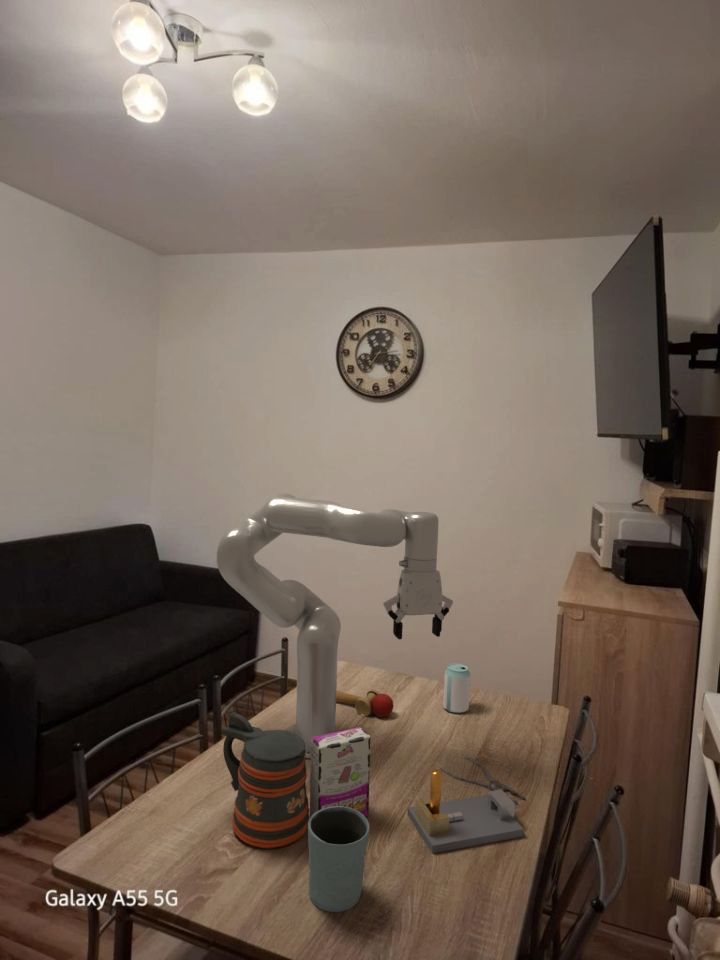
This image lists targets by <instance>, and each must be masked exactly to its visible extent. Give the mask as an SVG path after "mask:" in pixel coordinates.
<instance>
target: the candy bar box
mask: <svg viewBox="0 0 720 960" xmlns="http://www.w3.org/2000/svg"><path fill="white" fill-rule="evenodd" d="M370 765H371V736H370V735H369V734H368V733H367V731H365V730H364V729H363V727H360V726H359V727H354V728H350V729H349V728H348V729H344V730H340V731H335V733H330V734H326V735H321V736H316V737H312V738H311V759H310V766H309V767H310V768H309V769H310V770H309V771H310V773H309V774H310V777H309V819H310V818H311V816H312V815H313V814H314V813H315V812H317V811H319V810H321V809H323V808H326V807H332V806H343V807H348V808H352V809H354V810H357V811H358V812H360V813H361V814H363V815H364V816H365V817H366V816H369V814H370V813H369V810H370V773H371V772H370V771H371V770H370V769H371V766H370Z"/></svg>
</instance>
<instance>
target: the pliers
mask: <svg viewBox="0 0 720 960" xmlns="http://www.w3.org/2000/svg"><path fill="white" fill-rule="evenodd" d="M464 759H466V760H468V761H470V762H472V763H474V764H475V765H477V766H478V767H479V769H481V770H482V771H483V774H484V775H485V777H486V779H487V780H488V781H489V782H490V783H487V782H484V781H480V780H476V779H471V778H466V777H463V776H459V775H456V774H454V773H452V772H450V771H448V770H447V769H445V768H444V767H443V766H440V767H439V768H440V769H439V770H440V771H442V773H445V774H447V775H448V776H449V777H452V778H453V779H456V780H459V781H462V782H466V783H469V784H473V785H478V786H480V787H483V788H486V789H488V790H490V791H495V790H503V792H504V793H505V794H506V795H507V796H508V797H509V798H510V799H511V800H512V801H513V802H514V803H515V805H518V801H517V800H516V799H515V798H513V797H510V796H509V794H508V793H510V795H511V796H515V797H517V798H518V799H520V800H523V801H526V796H524V795H523V794H520V792H518V791H516V790H515V789H513V788H511V787H509V786H508V785H505V784H504V783H501V782H500V781H498V780H496V779H494V778H493V777H492V775H491V774H490V773H489V771H488V770H487V768H486V767H485V766H484V765H483V764H481V763H480V762H479V761H477V760H475V759H474V758H471V757H468V756H464ZM506 792H507V793H506Z"/></svg>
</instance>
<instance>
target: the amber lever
mask: <svg viewBox="0 0 720 960" xmlns="http://www.w3.org/2000/svg"><path fill="white" fill-rule="evenodd" d="M430 771H431V772H430V774H431V775H430V792H429V796H430V797H429V798H430V812H431V814H432V815H433V814H440V802H442V801H441V798H442V797H441V794H442V779H443V778H442V777H443V774H442V773H443V771H442V770H441V769H437V768H434V769H432V770H430ZM447 815H448V816H449V817H450V818H449V822H450V821H453V820H454V821H456V820H461V819H463V815H462V813H461V812H458V813H452V814H447Z"/></svg>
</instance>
